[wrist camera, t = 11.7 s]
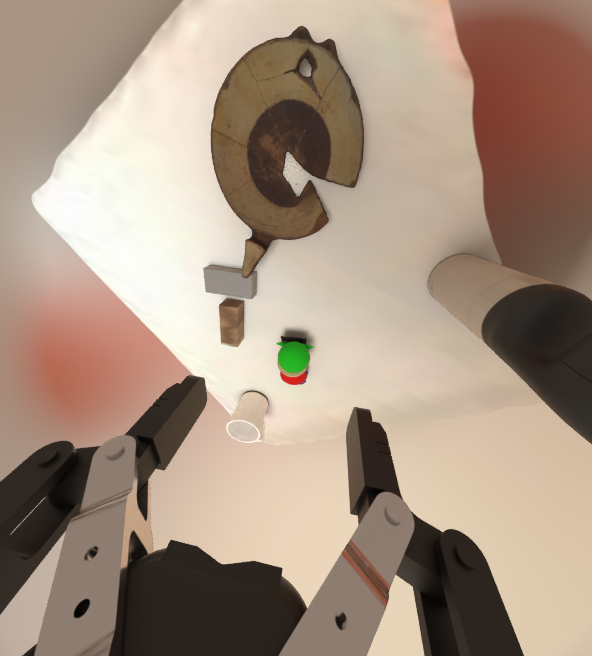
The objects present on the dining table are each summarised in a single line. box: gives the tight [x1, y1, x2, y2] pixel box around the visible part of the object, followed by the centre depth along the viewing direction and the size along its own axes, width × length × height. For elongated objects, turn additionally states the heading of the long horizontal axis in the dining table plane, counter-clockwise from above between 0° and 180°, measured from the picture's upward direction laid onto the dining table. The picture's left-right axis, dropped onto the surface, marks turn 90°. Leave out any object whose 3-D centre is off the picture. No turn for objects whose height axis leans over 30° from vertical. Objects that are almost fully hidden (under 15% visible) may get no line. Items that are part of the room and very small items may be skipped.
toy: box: [276, 336, 314, 385], centre depth 51 cm, size 8×8×15 cm
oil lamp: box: [211, 26, 364, 278], centre depth 34 cm, size 22×30×8 cm
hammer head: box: [203, 265, 257, 299], centre depth 46 cm, size 10×5×3 cm, turn 84°
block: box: [219, 298, 244, 347], centre depth 50 cm, size 4×4×10 cm
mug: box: [226, 391, 268, 443], centre depth 60 cm, size 11×9×10 cm
